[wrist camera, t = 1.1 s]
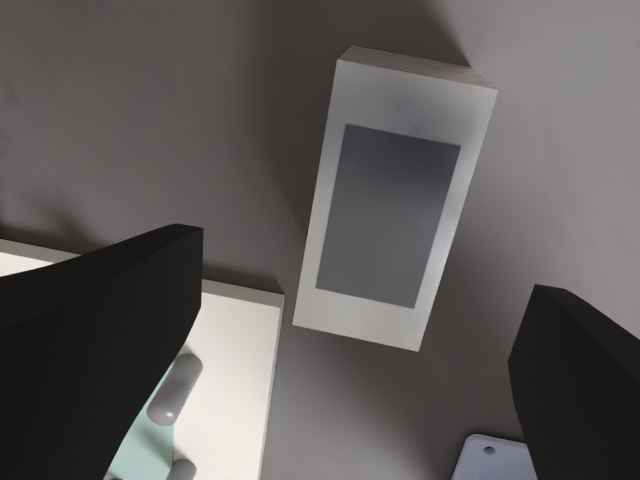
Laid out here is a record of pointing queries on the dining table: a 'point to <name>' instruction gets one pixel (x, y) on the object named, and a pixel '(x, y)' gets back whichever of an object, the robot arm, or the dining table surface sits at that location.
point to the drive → (389, 193)
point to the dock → (198, 385)
